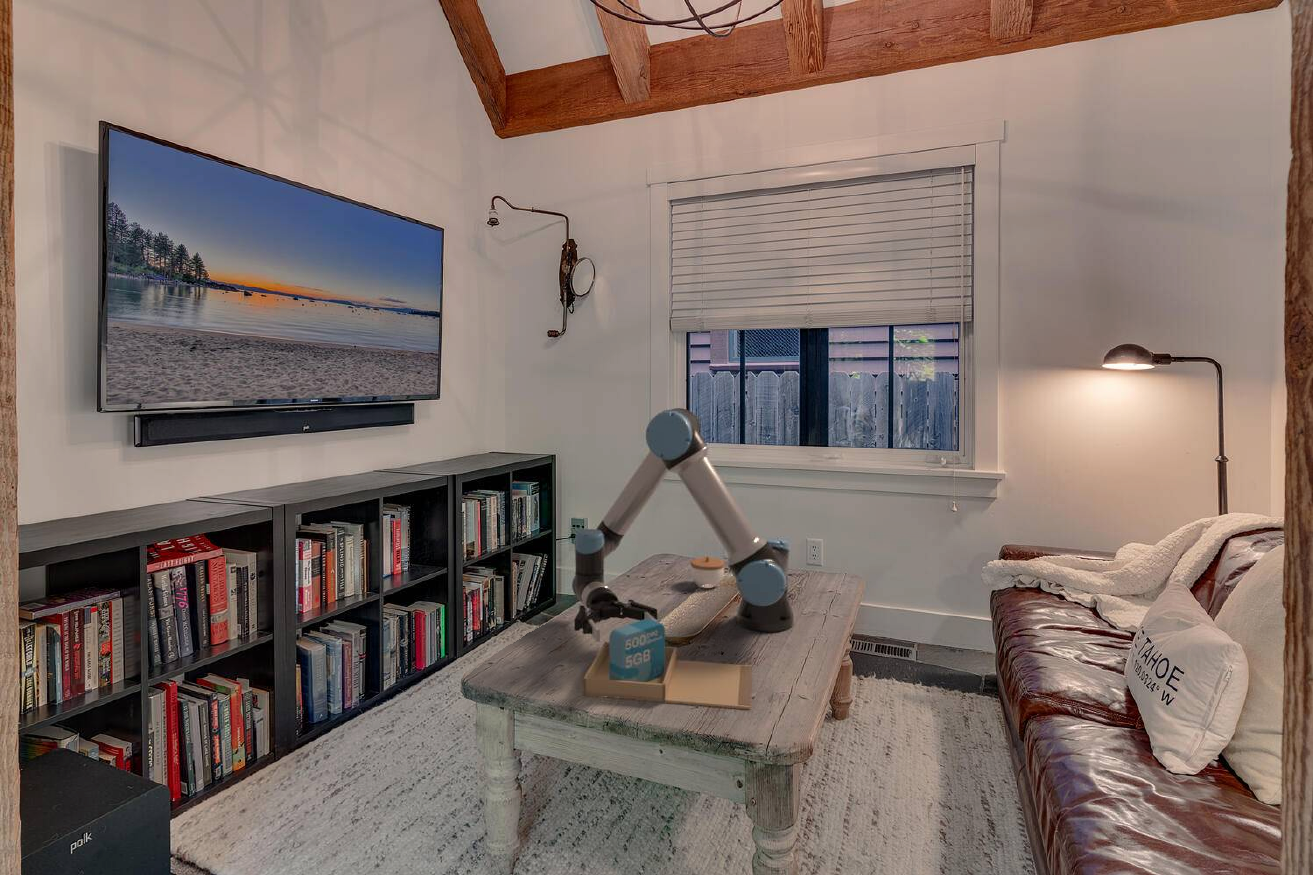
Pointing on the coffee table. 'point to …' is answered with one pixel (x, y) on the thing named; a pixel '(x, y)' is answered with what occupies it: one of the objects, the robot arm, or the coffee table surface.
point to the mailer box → (676, 682)
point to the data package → (637, 651)
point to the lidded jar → (707, 570)
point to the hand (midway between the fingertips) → (627, 631)
